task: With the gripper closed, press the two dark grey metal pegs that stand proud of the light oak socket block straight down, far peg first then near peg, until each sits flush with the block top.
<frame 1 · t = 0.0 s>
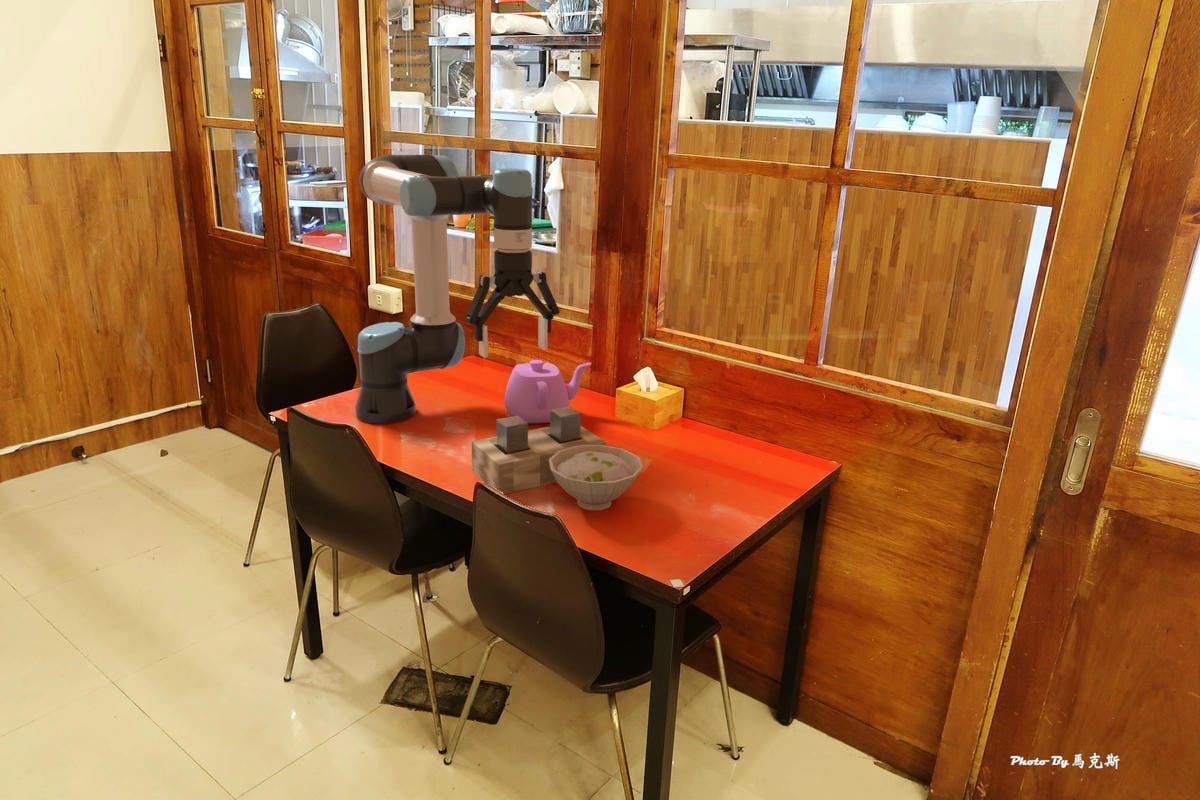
hand: (513, 352, 166), 28 cm above the table, fingers open, 13 cm apart
socket block: (539, 470, 178), on the table
bowl: (594, 503, 164), on the table
teapot: (539, 416, 210), on the table
near peg: (512, 435, 171), point 10 cm above the table, slide at 0.0 cm
far peg: (565, 425, 177), point 10 cm above the table, slide at 0.0 cm
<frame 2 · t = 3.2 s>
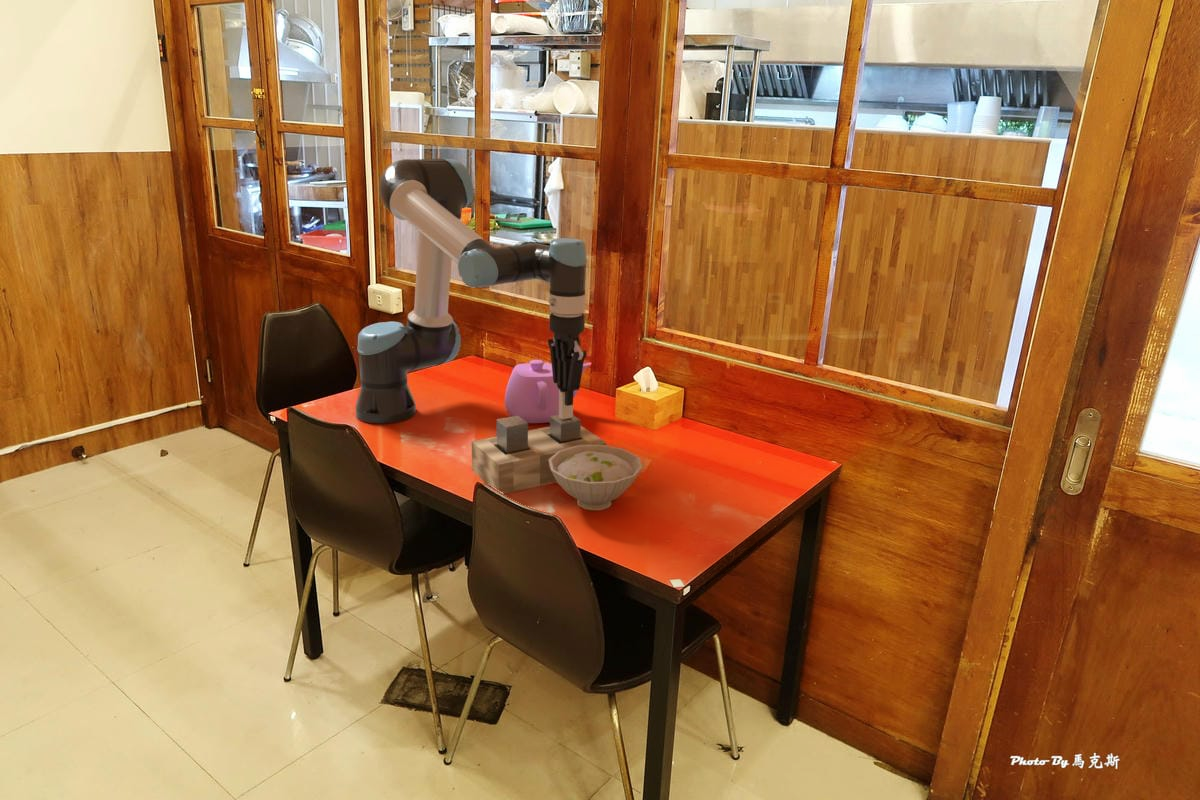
hand: (565, 417, 177), 12 cm above the table, fingers closed
far peg: (565, 431, 178), point 8 cm above the table, slide at 1.6 cm, touching gripper
everything else where it was.
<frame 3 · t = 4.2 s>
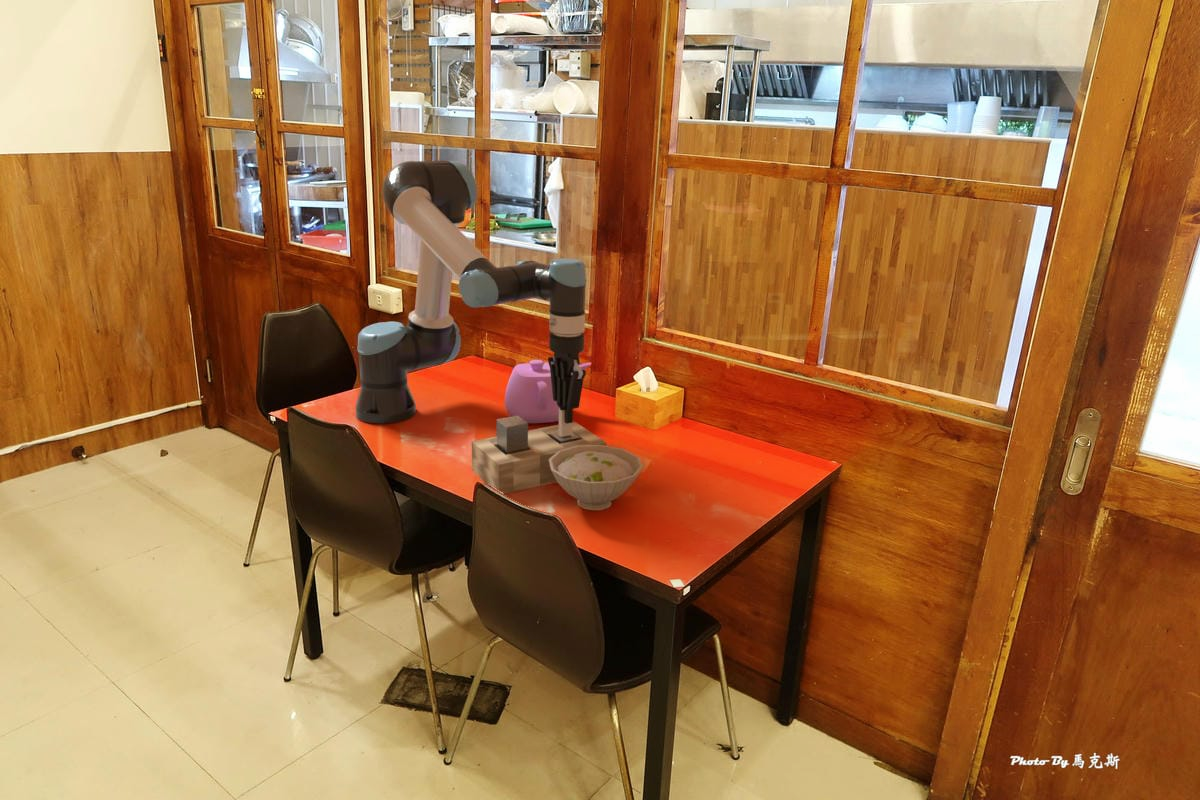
hand: (565, 434, 178), 8 cm above the table, fingers closed
far peg: (564, 448, 179), point 4 cm above the table, slide at 5.7 cm, touching gripper
everything else where it was.
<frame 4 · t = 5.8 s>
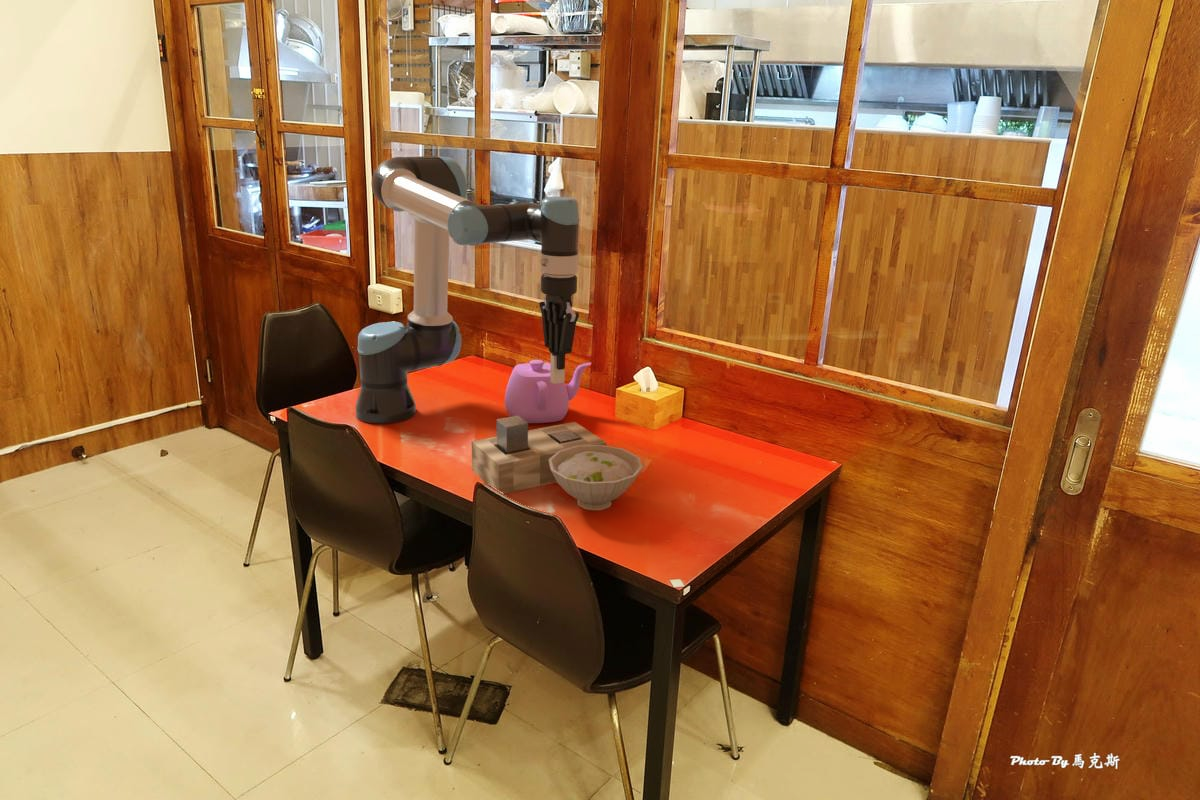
hand: (557, 381, 173), 20 cm above the table, fingers closed
far peg: (564, 449, 179), point 4 cm above the table, slide at 5.8 cm
everything else where it was.
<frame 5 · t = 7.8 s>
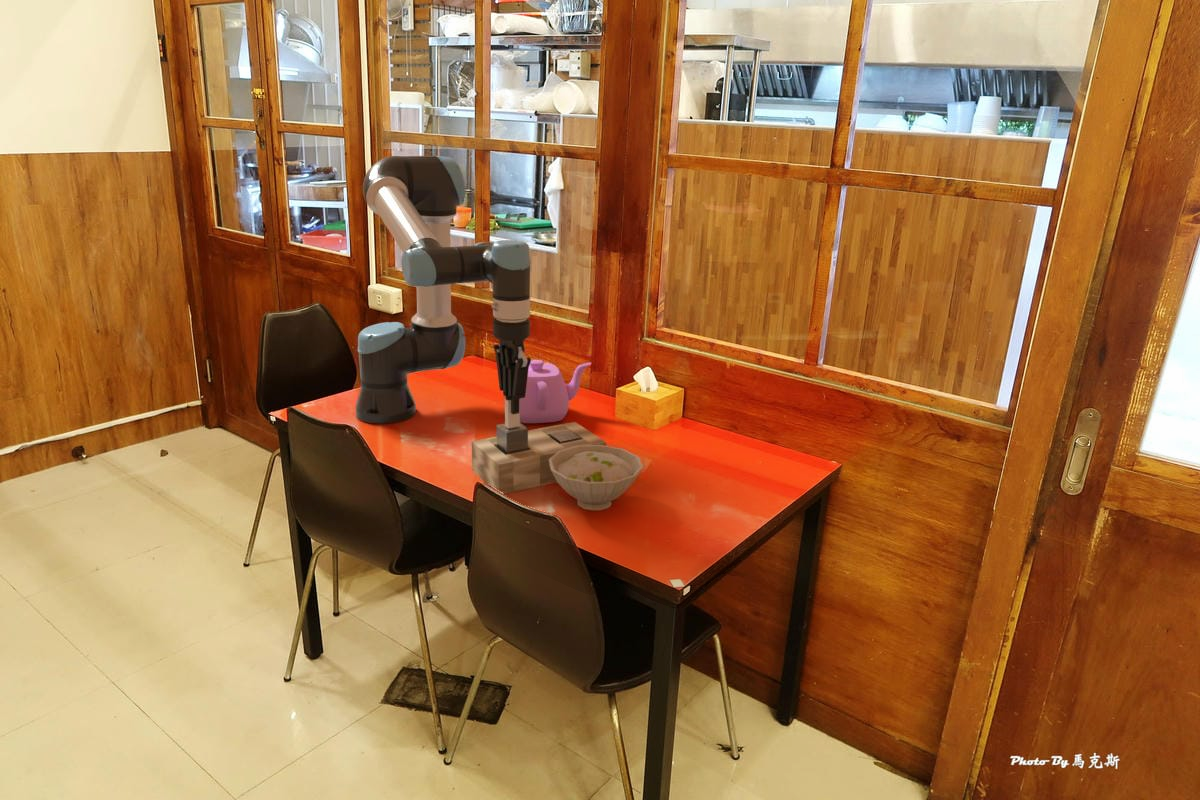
hand: (512, 426, 170), 12 cm above the table, fingers closed
near peg: (512, 441, 171), point 8 cm above the table, slide at 1.3 cm, touching gripper
everything else where it was.
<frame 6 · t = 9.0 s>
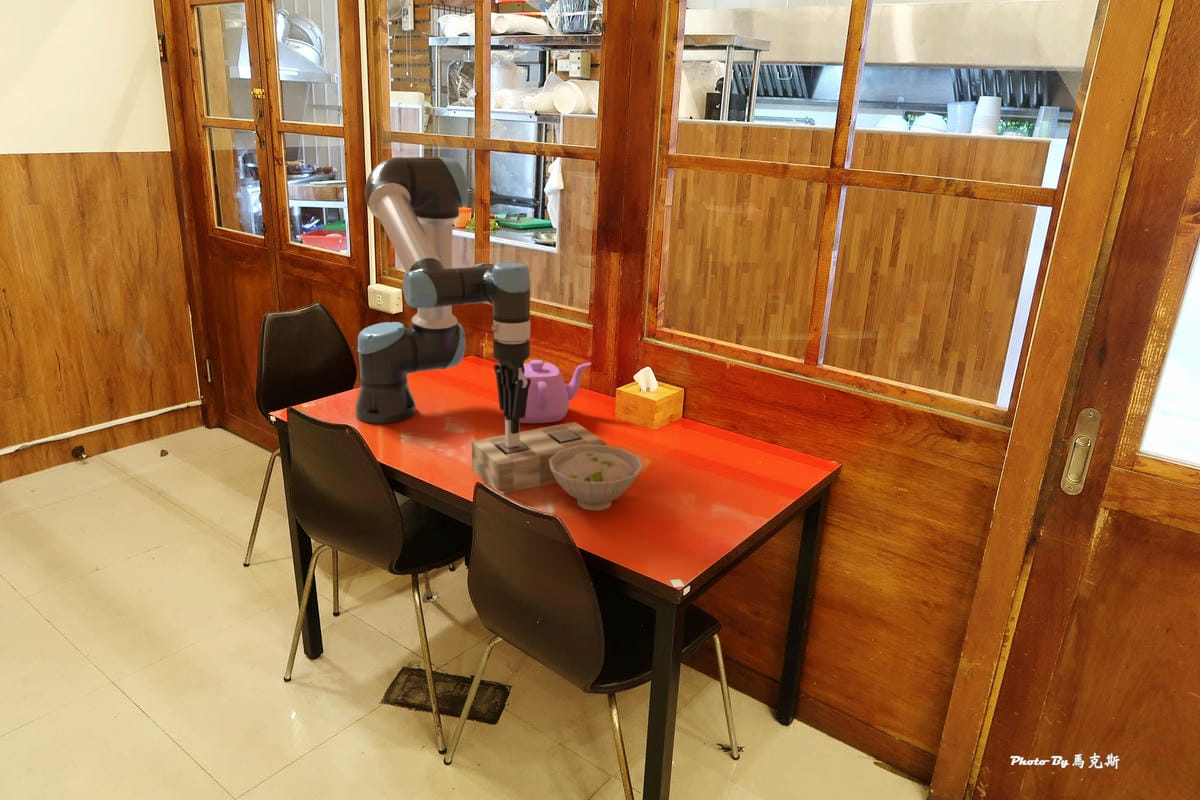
hand: (512, 445, 172), 7 cm above the table, fingers closed
near peg: (512, 459, 173), point 4 cm above the table, slide at 5.8 cm, touching gripper
everything else where it was.
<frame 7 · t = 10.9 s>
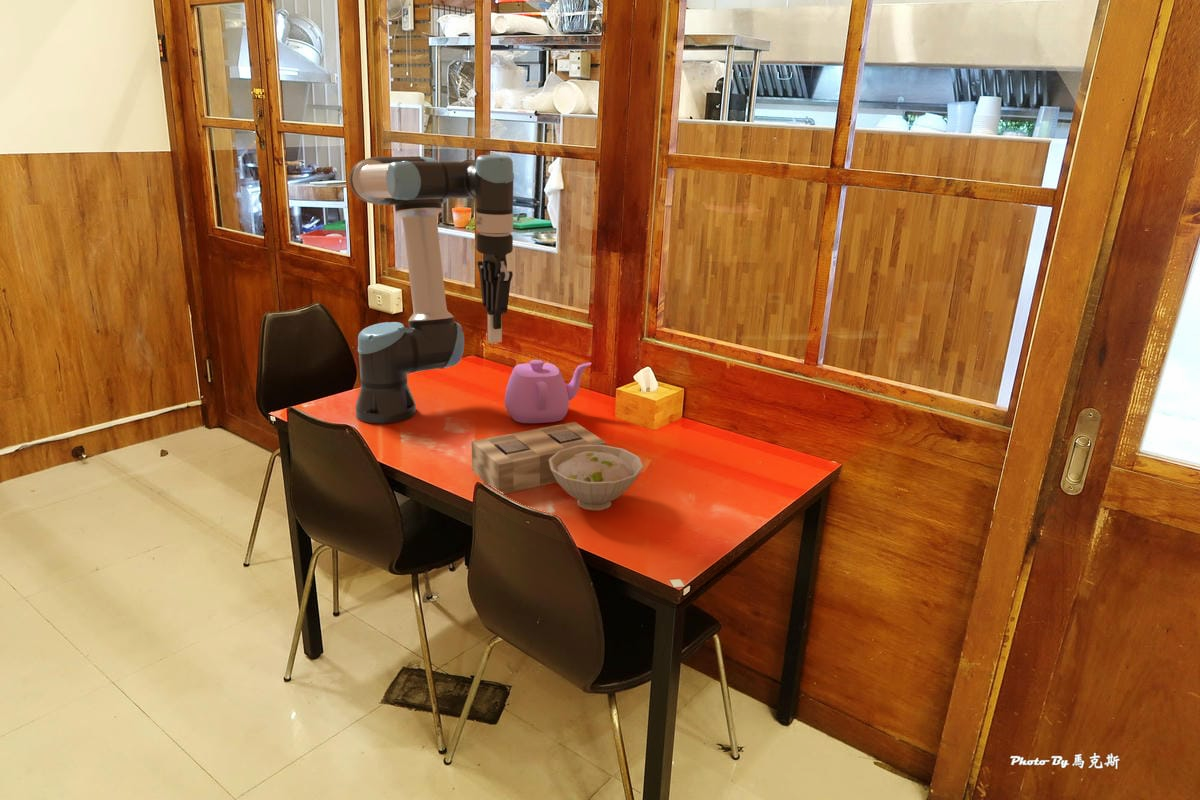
hand: (494, 341, 174), 28 cm above the table, fingers closed
near peg: (512, 459, 173), point 4 cm above the table, slide at 5.8 cm
everything else where it was.
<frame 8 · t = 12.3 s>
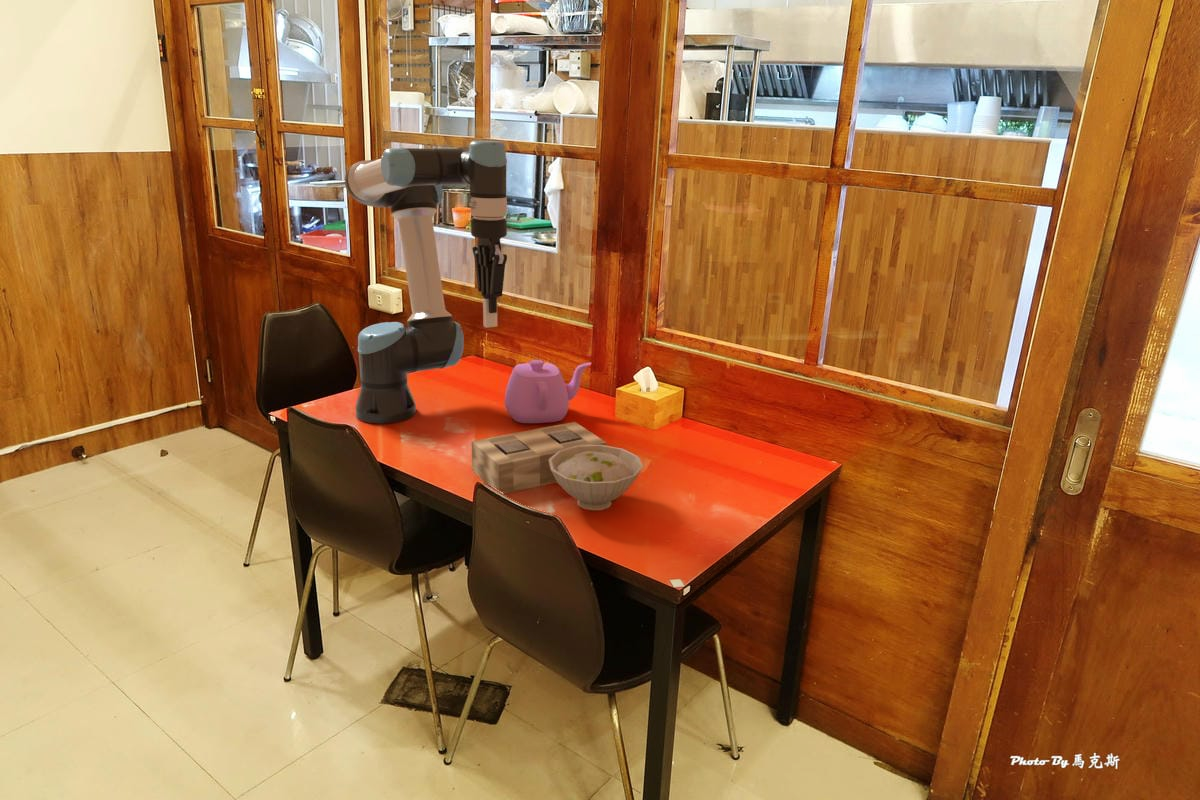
hand: (490, 326, 176), 30 cm above the table, fingers closed
nothing on the table moved.
at the end: far peg slide at 5.8 cm; near peg slide at 5.8 cm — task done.
